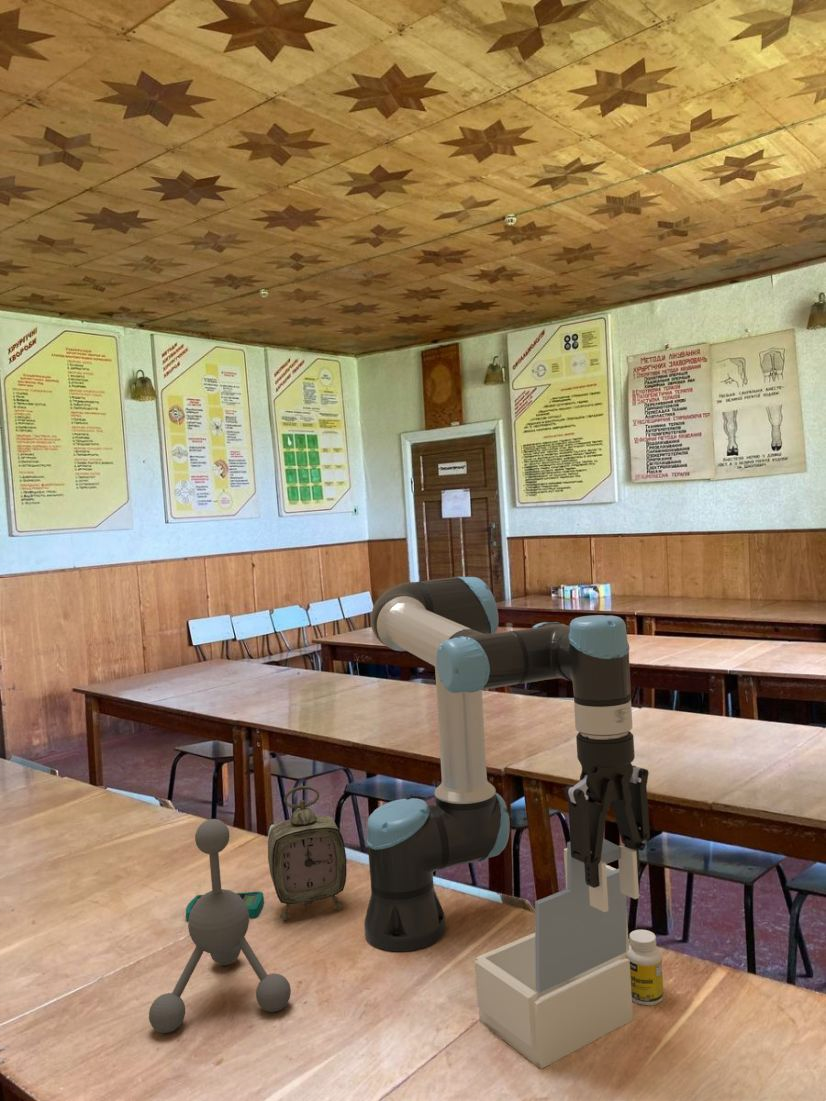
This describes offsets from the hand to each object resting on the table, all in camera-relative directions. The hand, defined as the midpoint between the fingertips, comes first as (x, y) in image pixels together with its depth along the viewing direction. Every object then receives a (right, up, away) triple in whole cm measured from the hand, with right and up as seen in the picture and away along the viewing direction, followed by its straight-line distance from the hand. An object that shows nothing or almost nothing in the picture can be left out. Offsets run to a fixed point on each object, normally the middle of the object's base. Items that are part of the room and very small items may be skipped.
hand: (614, 901), depth 116 cm
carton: (-6, -23, +13) cm, 27 cm away
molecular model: (-60, -27, +24) cm, 70 cm away
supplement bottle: (+9, -22, +18) cm, 30 cm away
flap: (-3, -3, +6) cm, 7 cm away
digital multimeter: (-65, -26, +57) cm, 90 cm away
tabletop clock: (-48, -24, +55) cm, 77 cm away
